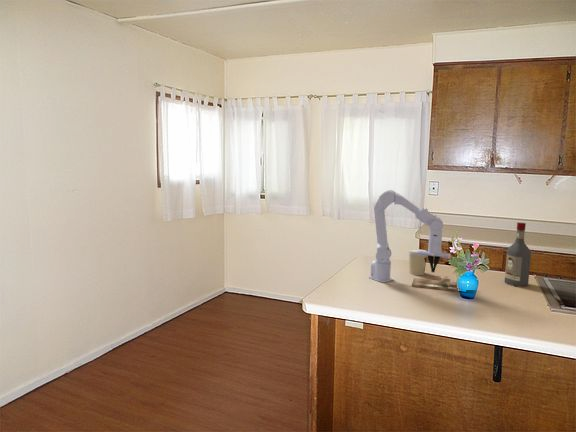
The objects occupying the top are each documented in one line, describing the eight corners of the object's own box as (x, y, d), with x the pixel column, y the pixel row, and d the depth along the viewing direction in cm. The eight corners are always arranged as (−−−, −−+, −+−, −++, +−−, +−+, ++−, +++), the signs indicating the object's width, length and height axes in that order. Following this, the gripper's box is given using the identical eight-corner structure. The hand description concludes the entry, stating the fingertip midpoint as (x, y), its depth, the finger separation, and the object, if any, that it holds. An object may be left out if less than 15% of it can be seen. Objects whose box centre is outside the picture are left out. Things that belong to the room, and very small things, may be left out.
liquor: (515, 280, 219) (521, 221, 215) (531, 285, 211) (536, 224, 207) (501, 282, 216) (506, 221, 212) (516, 287, 208) (521, 224, 204)
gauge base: (411, 286, 206) (412, 276, 205) (414, 279, 217) (414, 270, 217) (466, 292, 198) (467, 282, 197) (466, 285, 209) (466, 275, 208)
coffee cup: (428, 275, 226) (429, 252, 224) (410, 275, 226) (411, 252, 224) (423, 271, 235) (424, 249, 233) (405, 270, 235) (406, 248, 233)
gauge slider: (440, 286, 202) (440, 280, 202) (441, 282, 209) (441, 275, 209) (449, 287, 201) (450, 281, 200) (450, 283, 208) (450, 276, 208)
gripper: (418, 243, 205) (416, 272, 207) (451, 246, 200) (449, 275, 201) (419, 241, 211) (417, 268, 213) (451, 243, 206) (449, 272, 208)
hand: (433, 271), depth 208 cm, fingers closed
